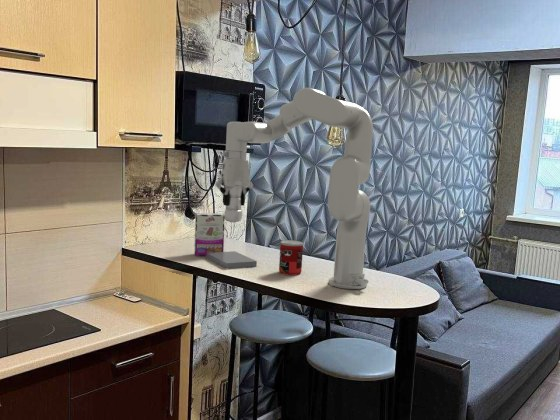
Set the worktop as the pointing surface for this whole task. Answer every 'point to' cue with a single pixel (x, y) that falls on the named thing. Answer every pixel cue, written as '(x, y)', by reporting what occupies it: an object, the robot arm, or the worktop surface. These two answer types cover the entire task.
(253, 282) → the worktop surface
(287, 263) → the canned food
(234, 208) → the plastic bottle
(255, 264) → the slate board
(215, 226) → the candy bar box
